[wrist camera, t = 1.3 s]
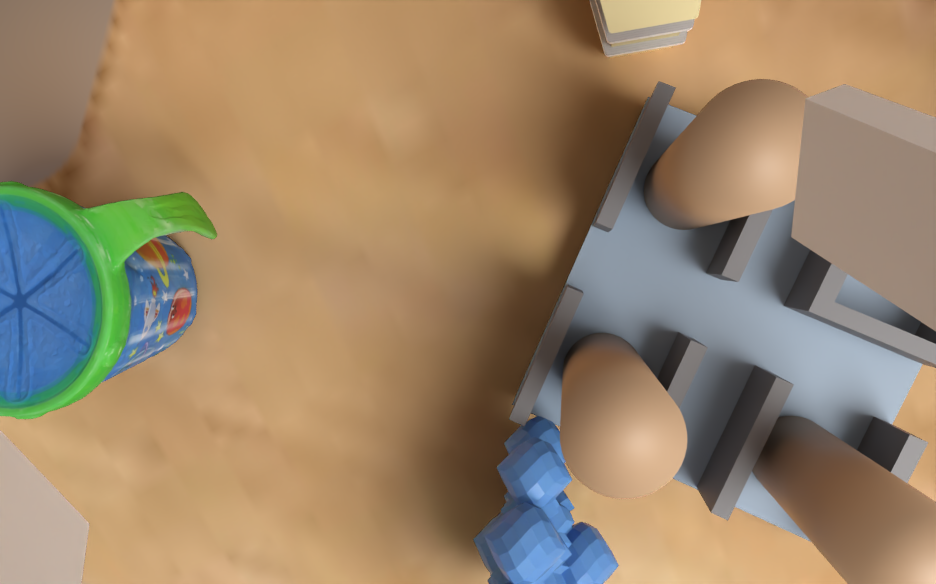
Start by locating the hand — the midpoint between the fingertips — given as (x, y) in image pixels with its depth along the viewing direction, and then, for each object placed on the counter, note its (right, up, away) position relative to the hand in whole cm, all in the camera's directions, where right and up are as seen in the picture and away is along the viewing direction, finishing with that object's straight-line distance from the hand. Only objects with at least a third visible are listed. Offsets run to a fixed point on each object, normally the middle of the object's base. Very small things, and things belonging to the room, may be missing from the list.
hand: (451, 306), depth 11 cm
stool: (+14, -1, +25) cm, 28 cm away
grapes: (+5, -12, +27) cm, 30 cm away
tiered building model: (+9, +16, +25) cm, 31 cm away
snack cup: (-19, 0, +30) cm, 35 cm away
